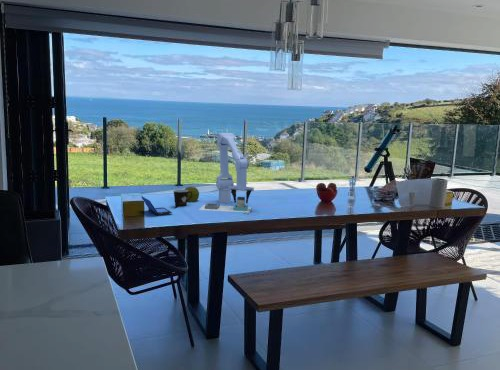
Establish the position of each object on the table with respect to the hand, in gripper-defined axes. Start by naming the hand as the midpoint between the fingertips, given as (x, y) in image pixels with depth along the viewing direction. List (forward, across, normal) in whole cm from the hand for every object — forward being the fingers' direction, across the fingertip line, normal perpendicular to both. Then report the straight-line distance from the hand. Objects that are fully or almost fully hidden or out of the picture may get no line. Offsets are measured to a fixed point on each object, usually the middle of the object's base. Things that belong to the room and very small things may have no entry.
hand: (240, 202), depth 270 cm
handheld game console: (+5, -45, -16) cm, 48 cm away
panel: (+5, -9, 0) cm, 10 cm away
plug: (+4, 0, 0) cm, 4 cm away
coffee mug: (+5, -35, +2) cm, 35 cm away
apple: (+5, -34, +16) cm, 38 cm away
